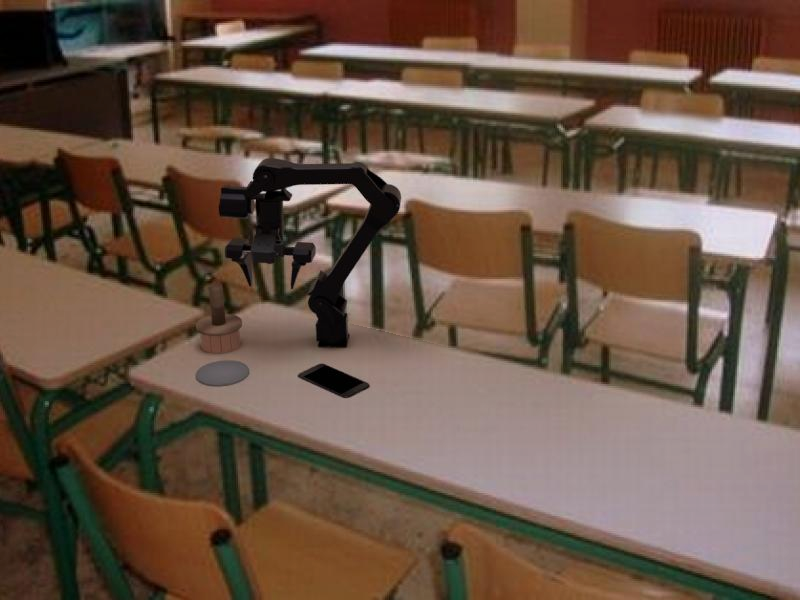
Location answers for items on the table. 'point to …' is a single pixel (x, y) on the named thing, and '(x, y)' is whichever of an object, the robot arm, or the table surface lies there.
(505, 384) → the table surface
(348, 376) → the smartphone
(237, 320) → the post with round base
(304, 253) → the robot arm
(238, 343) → the bowl
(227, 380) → the mat
